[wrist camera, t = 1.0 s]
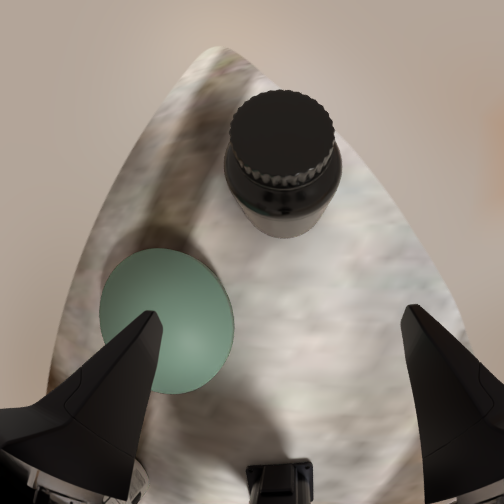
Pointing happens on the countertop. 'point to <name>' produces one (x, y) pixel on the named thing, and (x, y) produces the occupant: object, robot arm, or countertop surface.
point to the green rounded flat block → (172, 314)
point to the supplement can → (133, 486)
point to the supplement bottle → (282, 162)
